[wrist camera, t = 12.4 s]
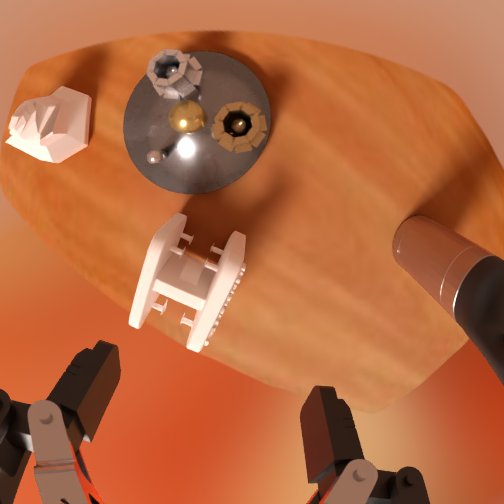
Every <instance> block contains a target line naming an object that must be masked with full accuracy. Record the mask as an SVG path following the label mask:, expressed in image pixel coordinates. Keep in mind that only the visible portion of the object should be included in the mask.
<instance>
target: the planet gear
mask: <svg viewBox="0 0 504 504" xmlns="http://www.w3.org/2000/svg"><path fill="white" fill-rule="evenodd" d="M151 59H152V60H150V61H149V65H148V68H147V72H146V73H147V76H148V77H149V78H150V80H151V81H152V83H153V86H154V88H155V89H156V91H157V92H158V94H159V95H160V96H161V97H163V98H165V99H167V100H175V101H181V100H182V98H183V99H185V100H186V99H188V98H189V97H191V96H192V95H194V94H195V93H197V92H198V90H197V89H196V87H199V88H201V87H202V83H203V79H204V75H205V74H204V72H203V71H204V69H203V68H202V66H201V65H200V64H199V62H198V61H197V60H196V58H195V57H192V56H191V55H190V54H182V52H181V51H179V50H174V49H165V50H162V51H160V52H159V53H158V54H156V55H155V56H153V57H152V58H151ZM172 66H174V67H176V68H177V69H178V68H179V69H178V72H177V73H176V74H175V75H173V76H172V77H170V78H168V77H167V76H166V74H165V73H166V70H167V69H168V68H169V67H172Z"/></svg>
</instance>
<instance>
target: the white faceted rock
mask: <svg viewBox="0 0 504 504" xmlns="http://www.w3.org/2000/svg"><path fill="white" fill-rule="evenodd" d="M91 102H92V98H91V97H90V96H89V95H86V94H84V93H81V92H78V91H75V90H73V89H70V88H67V87H64V86H61V87H60V88H59V89H57V90H56V91H55V92H54V93H53V94H51V95H50V96H45V97H40V98H35V99H31V100H26V101H24V102H23V103H22V104H21V105H19V106H18V107H17V109H16V111H15V113H14V114H13V116H12V118H11V121H10V125H9V128H8V129H10V134H11V136H10V137H9V139H8V140H7V141H6V142H7V143H8V144H10V145H12V146H14V147H16V148H18V149H20V150H22V151H24V152H26V153H28V154H30V155H32V156H34V157H36V158H38V159H39V160H44V161H49V162H54V163H60V162H62V161H63V160H65V159H66V158H68V157H70V156H71V155H73V154H75V153H76V152H78V151H80V150H82V149H83V148H85V147H87V146H88V138H89V123H90V112H91Z"/></svg>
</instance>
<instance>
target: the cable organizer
mask: <svg viewBox="0 0 504 504" xmlns="http://www.w3.org/2000/svg"><path fill="white" fill-rule="evenodd" d="M186 221H187V216H186V215H183V214H181V213H179V212H177V213H176V214H175V215H174V216H173V217H171V218H170V219H169V220H168V221H167V222H166V223H165V224H164V225H162V226H161V227H160V228H159V229H158V230H157V232H156V233H155V235H154V237H153V239H152V241H151V243H150V246H149V249H148V252H147V255H146V258H145V261H144V265H143V268H142V272H141V275H140V279H139V282H138V286H137V289H136V293H135V297H134V301H133V305H132V308H131V312H130V317H129V325H131V326H133V327H135V328H137V329H139V328H140V327H141V326H142V324H143V322H144V321H145V319H146V317H147V315H148V314H149V312H150V310H151V308H155V309H157V310H159V311H162V312H161V315H162V313H163V312H164V311H165V309H166V306H167V301H166V303H165V304H164V306H162V305H159V304H157V303H155V302H156V300H157V298H158V296H159V294H163V295H165V296H167V297H169V298H172V299H174V300H176V301H178V302H181V303H183V304H185V305H188V306H190V307H192V308H195V309H197V312H196V315H195V319H194V321H191V320H189V319H187V318H184V315H183V317H182V319H181V322H182V323H185V324H187V325H189V326H192V328H191V331H190V334H189V337H188V341H187V348H188V349H190V350H193V351H196V352H200V350H201V349H202V348H203V346H204V345H206V346H207V345H208V343H209V338H211V336H212V334H213V332H214V331H215V330H216V326H217V325H218V324H219V321H220V318H221V317H222V314H223V313H224V311H225V309H226V306H227V305H228V301H230V298H231V297H232V293H234V290H235V289H236V287H237V285H236V283H238V284H239V282H240V280H241V276H242V275H243V271H245V269H246V264H245V263H243V261H244V253H245V242H246V235H244V234H242V233H240V232H237V231H234V232H233V233H232V234H231V236H230V238H229V240H228V241H227V244H226V246H225V248H224V250H221V249H219V248H217V247H214V246H213V245H214V244H213V245H212V247H211V249H210V252H211V251H213V252H215V253H217V254H220V255H221V257H220V259H219V261H218V263H217V265H215V264H212V263H210V262H208V261H207V260H208V258H207V260H206V261H205V263H203V262H201V261H199V260H196V259H194V258H192V257H190V256H187V255H185V254H184V250H185V248H184V250H182V249H180V248H177V246H178V243H179V241H180V238H183V239H185V240H188V241H190V243H191V242H192V240H193V237H191V236H189V235H187V234H185V233H183V230H184V227H185V224H186ZM193 236H194V235H193ZM190 243H189V245H190ZM185 247H186V246H185ZM238 275H240V276H238ZM184 314H185V313H184ZM180 325H181V324H180Z"/></svg>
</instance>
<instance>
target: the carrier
mask: <svg viewBox="0 0 504 504" xmlns="http://www.w3.org/2000/svg"><path fill="white" fill-rule="evenodd" d="M182 54H190V55H191V56H192V57H195V58H196V60H197V61H198V62H199V64H200V65H201V66H202V68H203V69H204V71H203V72H204V74H205V75H204V79H203V83H202V87H201V88H199V87H196V89H197V90H198V92H197V93H195V94H194V95H192V96H191V97H189V98H188V99H186V100H185V99H183V98H182V100H181V101H175V100H167V99H165V98H163V97H161V96H160V95H159V94H158V92H157V91H156V89H155V88H154V86H153V83H152V81H151V80H150V78H149V77H148V76H147V74H146V75H145V76H144V77H143V78H142V79H141V80H140V82H139V83H138V84H137V86H136V87H135V89H134V91H133V92H132V94H131V96H130V99H129V101H128V103H127V107H126V110H125V115H124V123H123V132H124V140H125V144H126V148H127V151H128V153H129V156H130V158H131V159H132V161H133V163H134V165H135V166H136V167H137V168H138V170H139V171H140V172H141V173H142V174H143V175H144V176H145V177H146V178H147V179H149V180H150V181H151V182H153V183H154V184H156V185H158V186H159V187H161V188H164V189H166V190H169V191H173V192H177V193H183V194H201V193H207V192H211V191H215V190H218V189H220V188H223V187H225V186H227V185H229V184H231V183H233V182H234V181H236V180H237V179H239V178H240V177H241V176H243V175H244V174H245V173H246V172H247V171H248V170H249V169H250V168H251V167H252V166H253V164H254V163H255V162H256V161H257V159H258V158H259V156H260V154H261V153H262V151H263V149H264V146H265V144H266V142H267V138H268V135H269V130H270V124H271V112H270V104H269V100H268V97H267V94H266V92H265V89H264V87H263V85H262V84H261V82H260V80H259V79H258V78H257V76H256V75H255V74H254V73H253V72H252V71H251V70H250V69H249V68H248V67H247V66H246V65H244V64H243V63H241V62H240V61H238V60H236V59H234V58H232V57H230V56H227V55H224V54H221V53H217V52H211V51H193V52H187V53H182ZM178 69H179V68H178ZM178 69H177V68H176V67H174V66H172V67H169V68H168V69H167V70H166V73H165V74H166V76H167V77H168V78H170V77H172V76H173V75H175V74H176V73H177V72H178ZM240 101H243V102H244V103H245V104H247V103H248V102H249V103H251V104H252V105H254V106H255V107H257V108H258V109H260V110H261V111H262V112H261V114H260V115H265V121H266V126H267V131H264V132H263V133H264V134H265V135H266V136H265V137H264V138H263V140H262V141H261V142H260V144H259V145H258V146H257V148H256V147H254V146H253V145H251V146H252V151H246V152H240V153H236V151H235V149H234V150H233V152H230V151H229V150H227V149H226V148H224V147H222V146H221V145H219V144H218V142H219V141H220V139H219V140H215V136H214V131H213V126H212V124H215V120H213V119H214V118H215V116H216V115H217V114H218V112H219V111H220V110H221V108H222V107H224V106H225V107H226V105H227V104H229V103H235V102H240ZM260 115H259V116H260ZM251 128H252V123H251V121H250V120H249V119H247V118H246V117H244V116H240V117H234V118H233V119H232V120H231V122H230V123H229V124H228V130H229V135H231V136H232V137H234V138H236V137H241V136H246V134H247V133H248V132H249V130H250V129H251Z"/></svg>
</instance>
